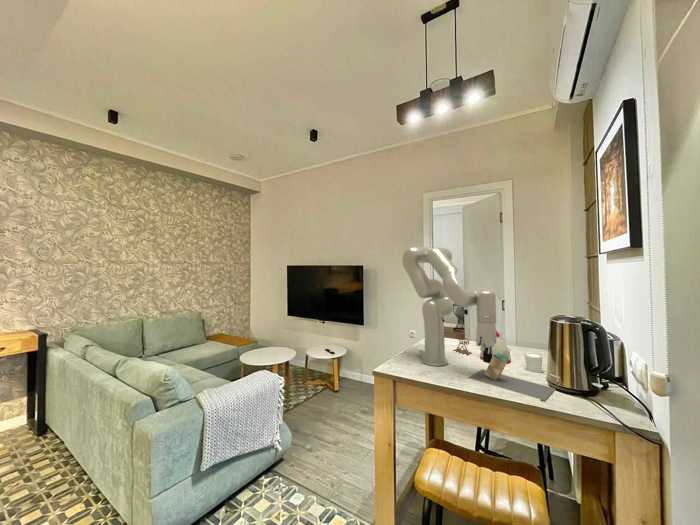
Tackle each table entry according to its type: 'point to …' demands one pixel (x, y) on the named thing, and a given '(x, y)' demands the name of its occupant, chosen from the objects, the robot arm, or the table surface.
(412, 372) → the table surface
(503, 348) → the white red winter hat
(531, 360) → the white round tub
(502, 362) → the spice jar
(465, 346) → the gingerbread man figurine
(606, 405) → the table surface
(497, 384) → the mat
